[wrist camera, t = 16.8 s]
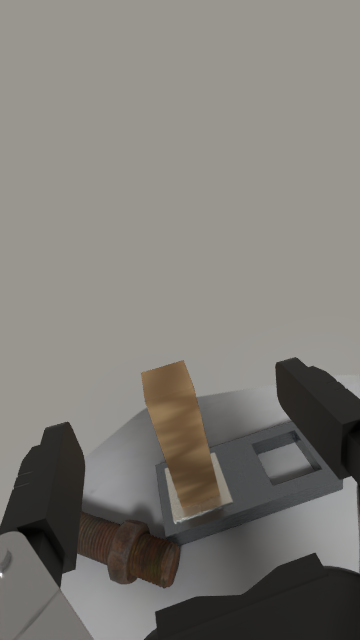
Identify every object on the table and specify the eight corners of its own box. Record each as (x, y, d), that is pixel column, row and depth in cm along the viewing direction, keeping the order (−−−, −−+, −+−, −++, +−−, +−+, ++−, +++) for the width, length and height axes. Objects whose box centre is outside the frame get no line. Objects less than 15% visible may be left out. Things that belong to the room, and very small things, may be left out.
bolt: (179, 597, 27) (53, 545, 33) (190, 530, 29) (70, 493, 35) (153, 613, 22) (12, 550, 28) (169, 533, 25) (35, 490, 31)
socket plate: (170, 548, 29) (165, 535, 28) (159, 476, 36) (155, 464, 35) (342, 489, 30) (343, 474, 29) (299, 430, 37) (298, 417, 37)
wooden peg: (182, 508, 30) (144, 401, 24) (174, 473, 33) (141, 372, 27) (220, 495, 30) (193, 386, 24) (209, 462, 34) (183, 360, 28)
